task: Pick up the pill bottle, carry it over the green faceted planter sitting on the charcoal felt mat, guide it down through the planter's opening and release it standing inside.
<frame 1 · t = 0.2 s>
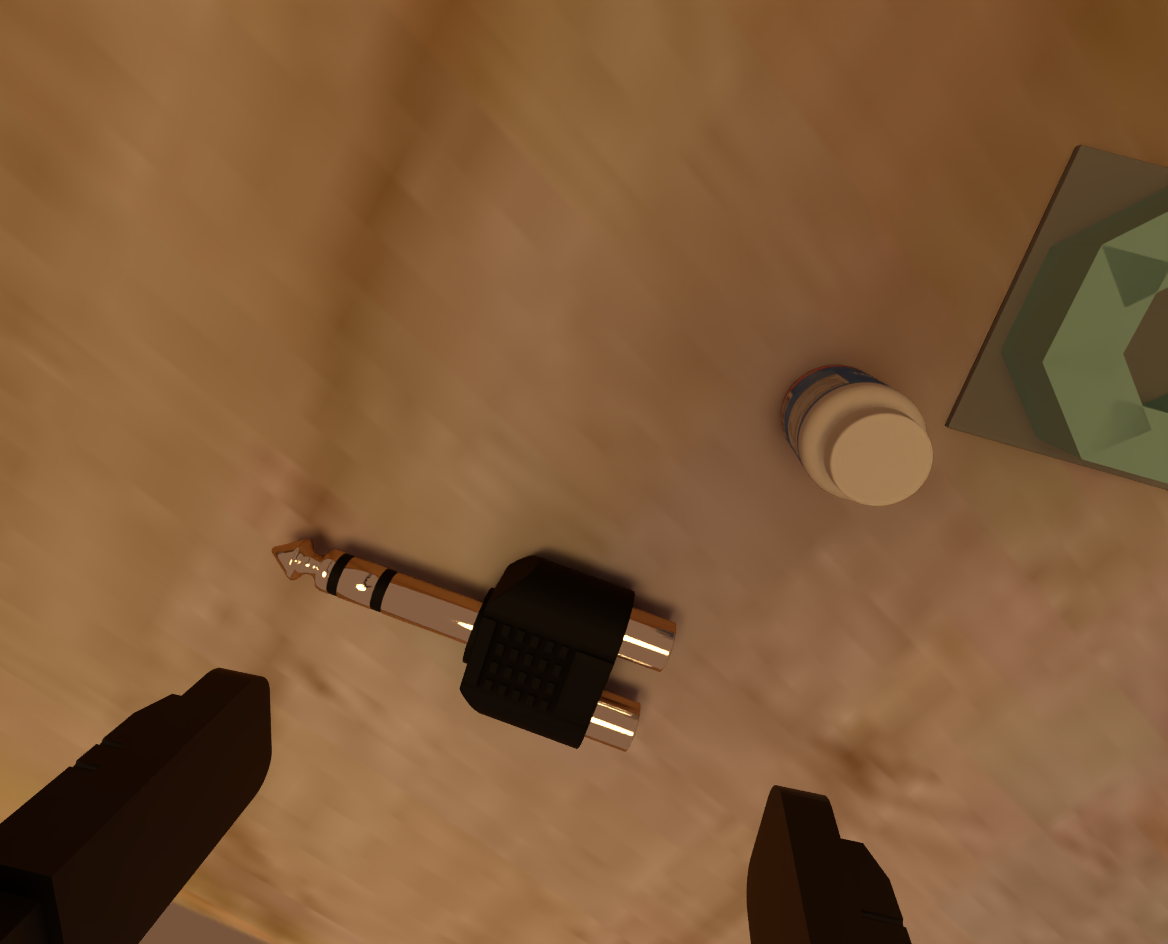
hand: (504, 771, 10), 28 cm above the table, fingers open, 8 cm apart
green faceted planter: (1150, 334, 32), resting on felt mat
felt mat: (1144, 333, 32), on the table
audio adapter: (473, 595, 42), on the table
pill bottle: (828, 411, 36), on the table
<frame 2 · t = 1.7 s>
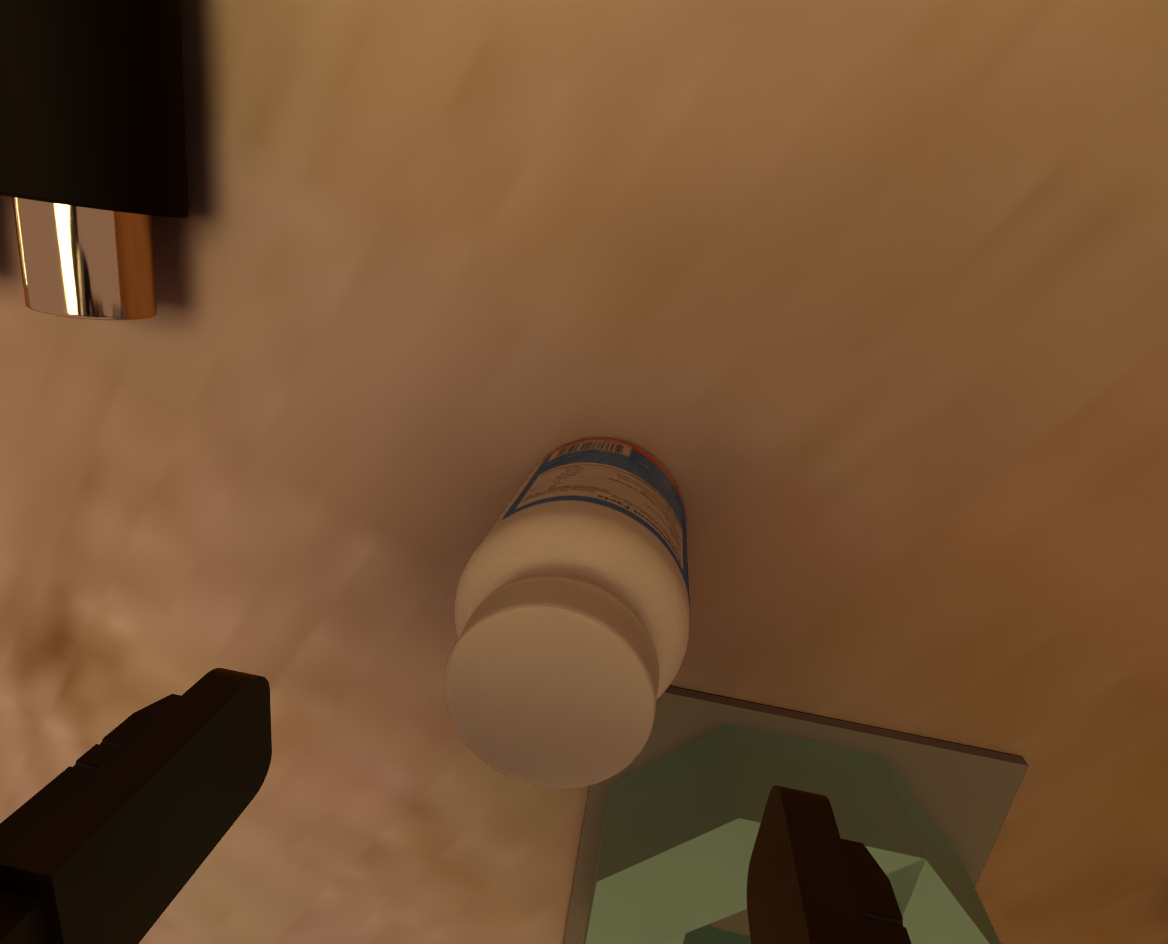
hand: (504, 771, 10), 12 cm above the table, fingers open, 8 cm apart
green faceted planter: (765, 874, 24), resting on felt mat
felt mat: (764, 864, 24), on the table
pill bottle: (604, 511, 21), on the table
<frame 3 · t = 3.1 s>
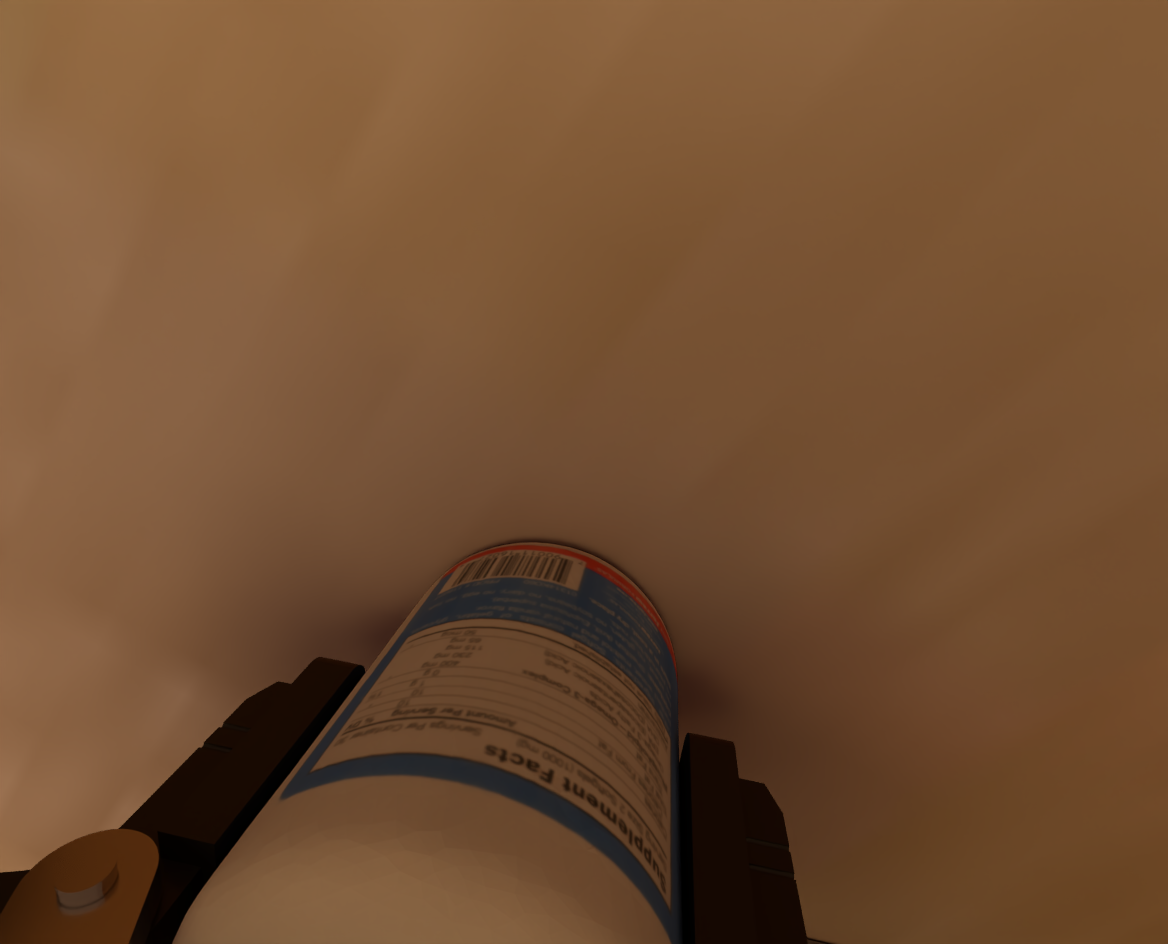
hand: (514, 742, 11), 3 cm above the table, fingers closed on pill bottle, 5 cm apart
pill bottle: (547, 649, 13), on the table, touching gripper
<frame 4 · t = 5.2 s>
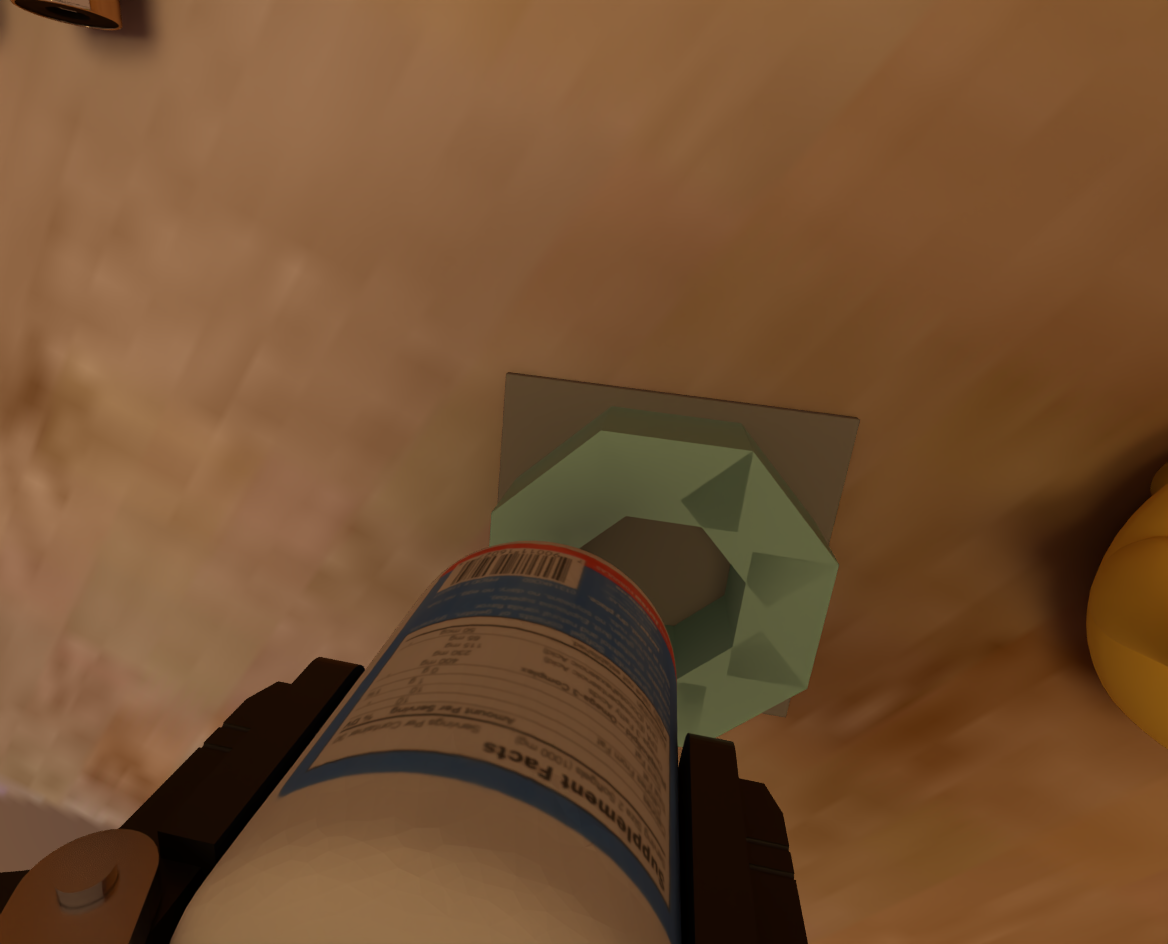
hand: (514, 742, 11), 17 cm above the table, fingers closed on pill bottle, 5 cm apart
green faceted planter: (653, 555, 28), resting on felt mat
felt mat: (654, 551, 28), on the table
pill bottle: (547, 647, 13), point 15 cm above the table, touching gripper
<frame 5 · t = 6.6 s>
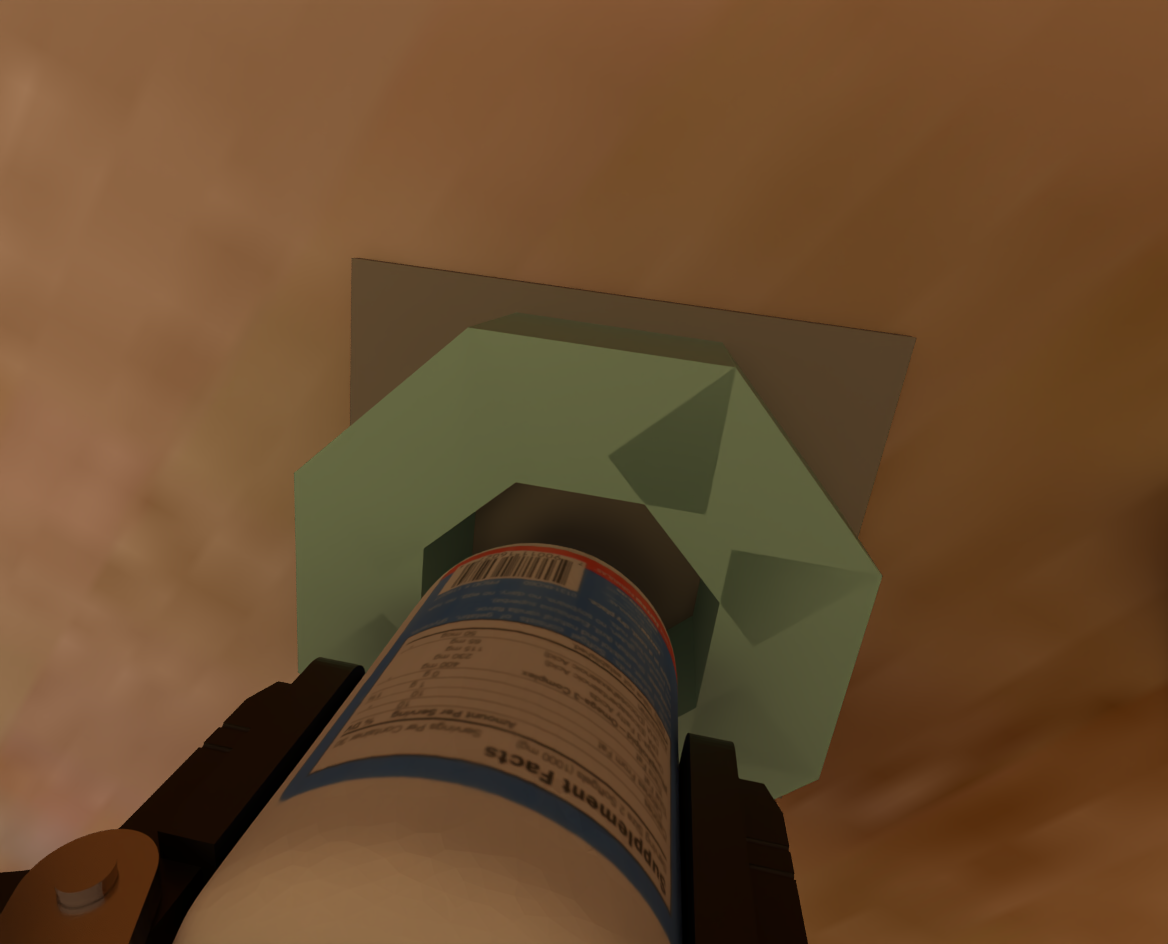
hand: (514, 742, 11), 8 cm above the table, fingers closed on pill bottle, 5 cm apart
green faceted planter: (585, 552, 18), resting on felt mat
felt mat: (587, 546, 18), on the table
pill bottle: (547, 650, 13), point 5 cm above the table, touching gripper
when the fingers open (5 cm above the table, at t = 7.6 s): pill bottle drops 2 cm, resting on felt mat.
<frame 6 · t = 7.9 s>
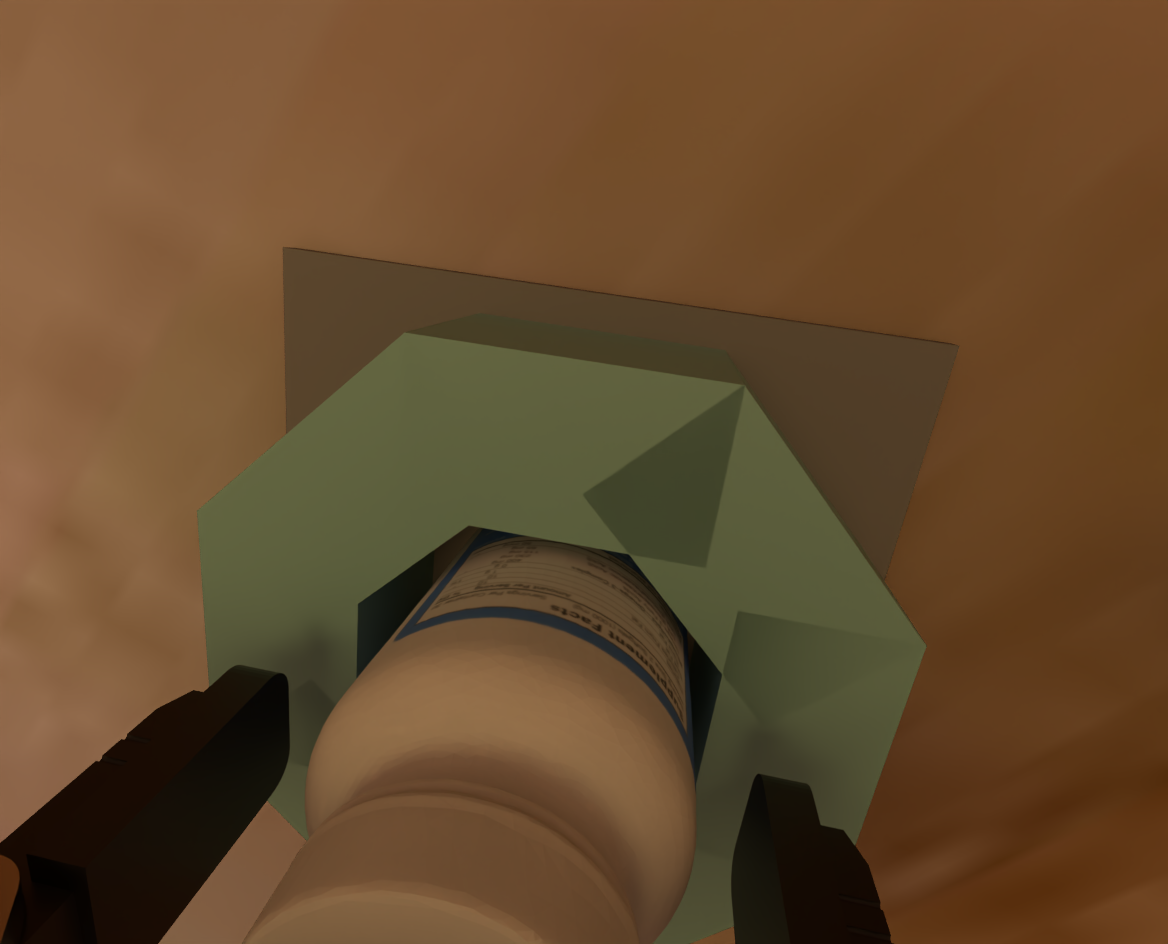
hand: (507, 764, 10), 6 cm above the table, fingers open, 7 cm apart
green faceted planter: (563, 594, 15), resting on felt mat
felt mat: (566, 586, 16), on the table
pill bottle: (574, 588, 15), resting on felt mat
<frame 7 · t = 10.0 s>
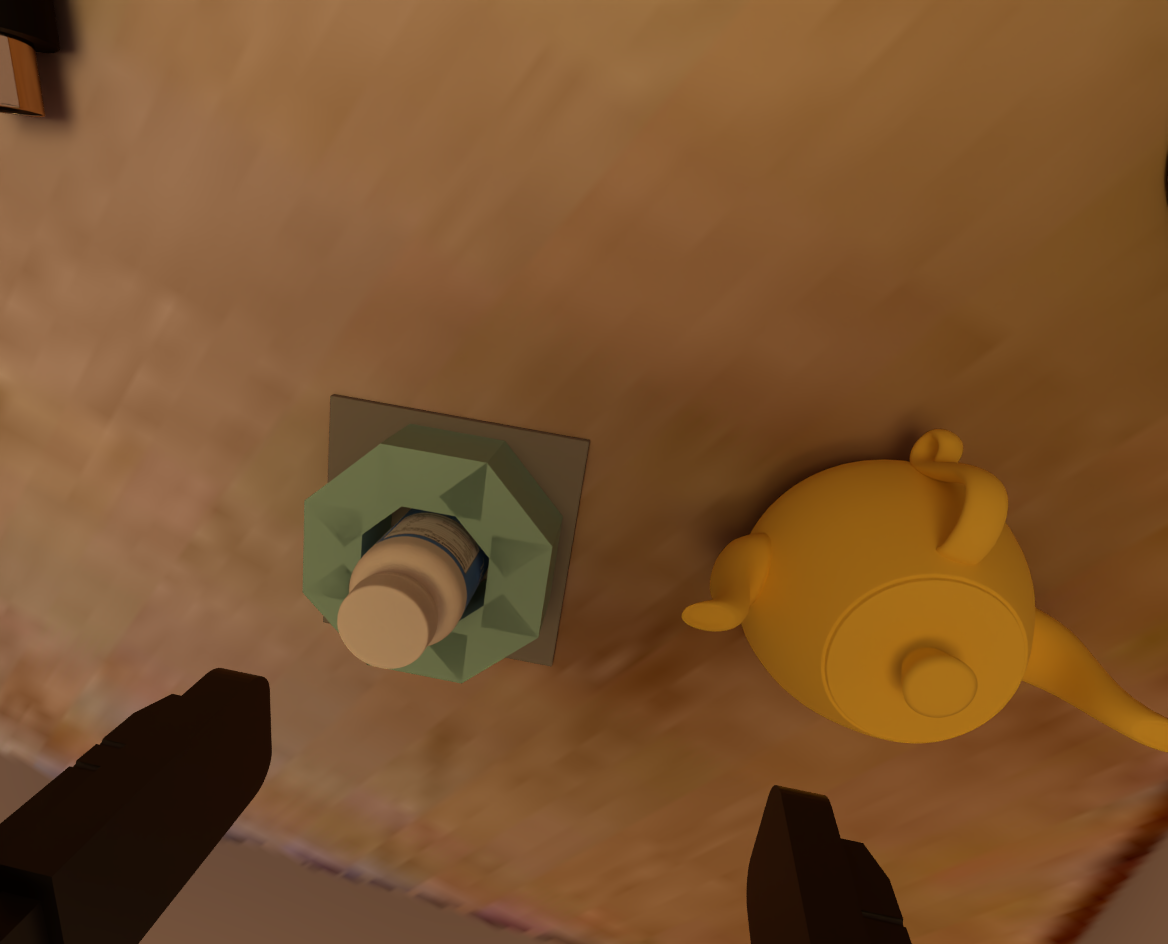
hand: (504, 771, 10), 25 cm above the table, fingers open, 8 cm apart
green faceted planter: (446, 538, 36), resting on felt mat
felt mat: (449, 535, 37), on the table
teapot: (855, 540, 35), on the table
pill bottle: (451, 535, 36), resting on felt mat
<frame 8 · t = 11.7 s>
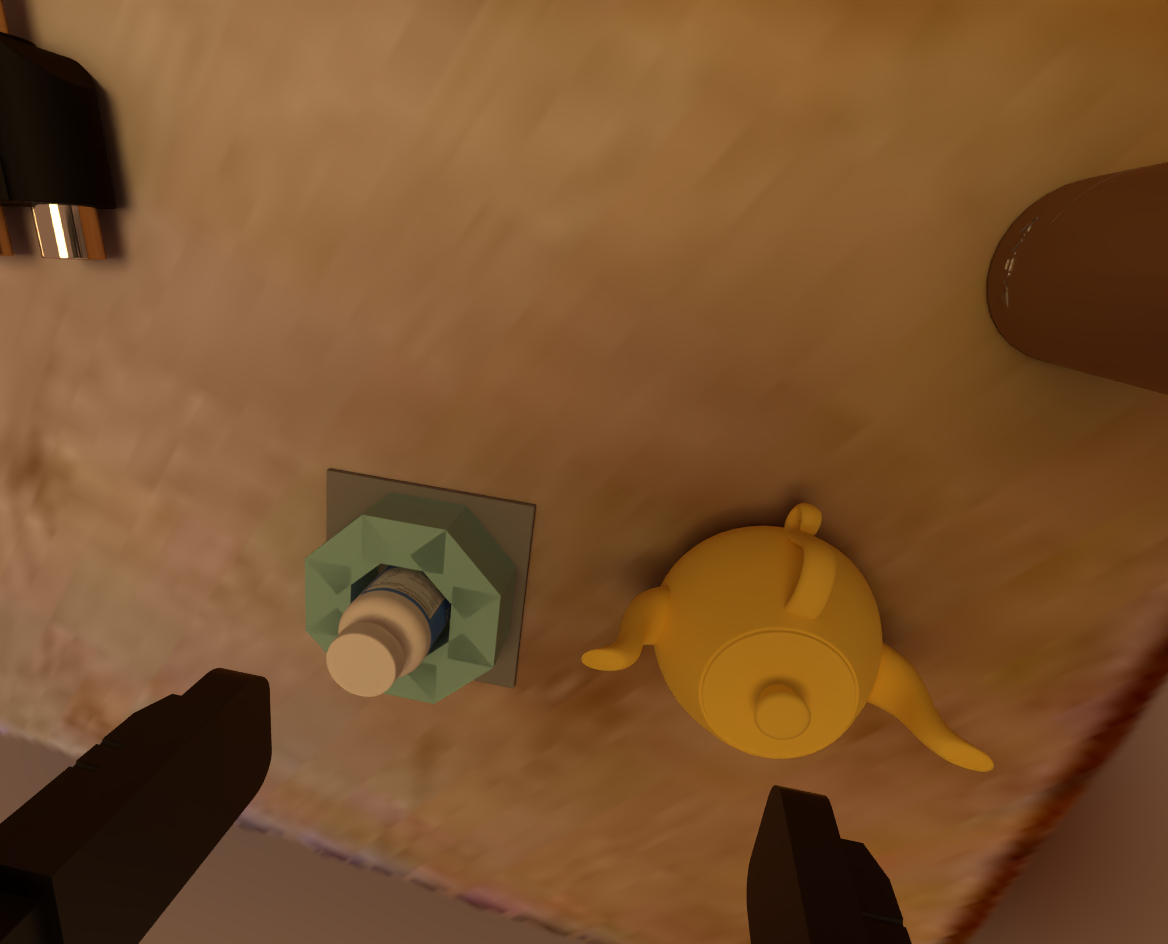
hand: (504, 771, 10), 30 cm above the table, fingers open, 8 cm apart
green faceted planter: (423, 583, 44), resting on felt mat
felt mat: (425, 580, 44), on the table
teapot: (759, 586, 41), on the table
audio adapter: (23, 29, 37), on the table
pill bottle: (427, 581, 44), resting on felt mat
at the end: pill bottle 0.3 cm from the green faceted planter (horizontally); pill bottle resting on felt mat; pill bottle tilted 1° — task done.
